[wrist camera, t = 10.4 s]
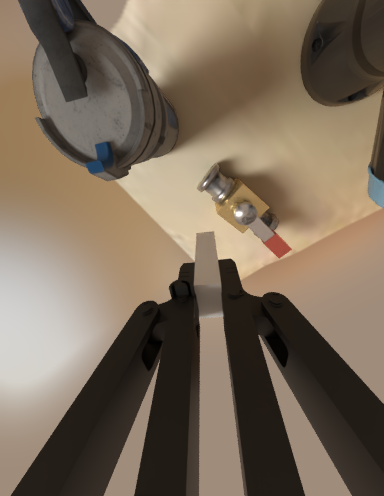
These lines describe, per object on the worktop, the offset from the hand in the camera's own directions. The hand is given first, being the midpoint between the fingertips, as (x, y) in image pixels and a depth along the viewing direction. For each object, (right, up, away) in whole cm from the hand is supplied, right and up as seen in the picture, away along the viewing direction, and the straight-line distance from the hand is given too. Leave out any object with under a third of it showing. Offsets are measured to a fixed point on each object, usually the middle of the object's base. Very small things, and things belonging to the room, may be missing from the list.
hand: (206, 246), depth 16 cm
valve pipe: (+9, +11, +24) cm, 28 cm away
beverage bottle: (-9, +24, +17) cm, 31 cm away
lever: (+12, +4, +19) cm, 23 cm away
